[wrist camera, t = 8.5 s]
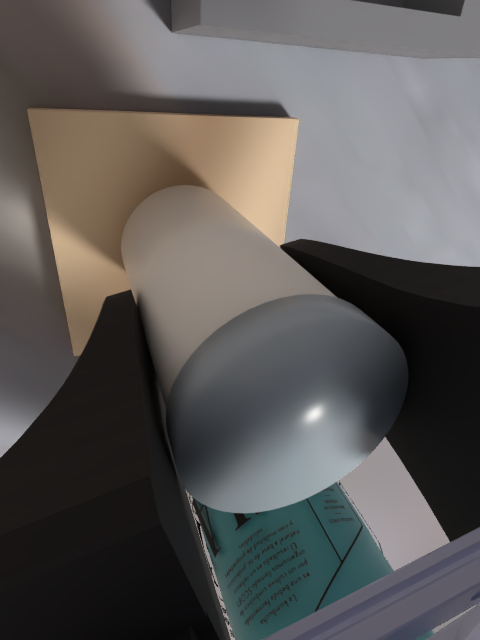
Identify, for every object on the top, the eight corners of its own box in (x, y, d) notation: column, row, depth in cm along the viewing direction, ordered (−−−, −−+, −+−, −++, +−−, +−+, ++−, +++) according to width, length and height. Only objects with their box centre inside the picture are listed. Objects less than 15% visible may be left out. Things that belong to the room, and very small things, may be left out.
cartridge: (241, 172, 13) (431, 292, 6) (247, 290, 15) (387, 467, 8) (103, 192, 11) (154, 363, 5) (132, 315, 14) (193, 542, 7)
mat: (290, 117, 14) (298, 119, 13) (268, 319, 18) (273, 326, 17) (28, 107, 11) (27, 109, 10) (73, 347, 15) (74, 356, 15)
